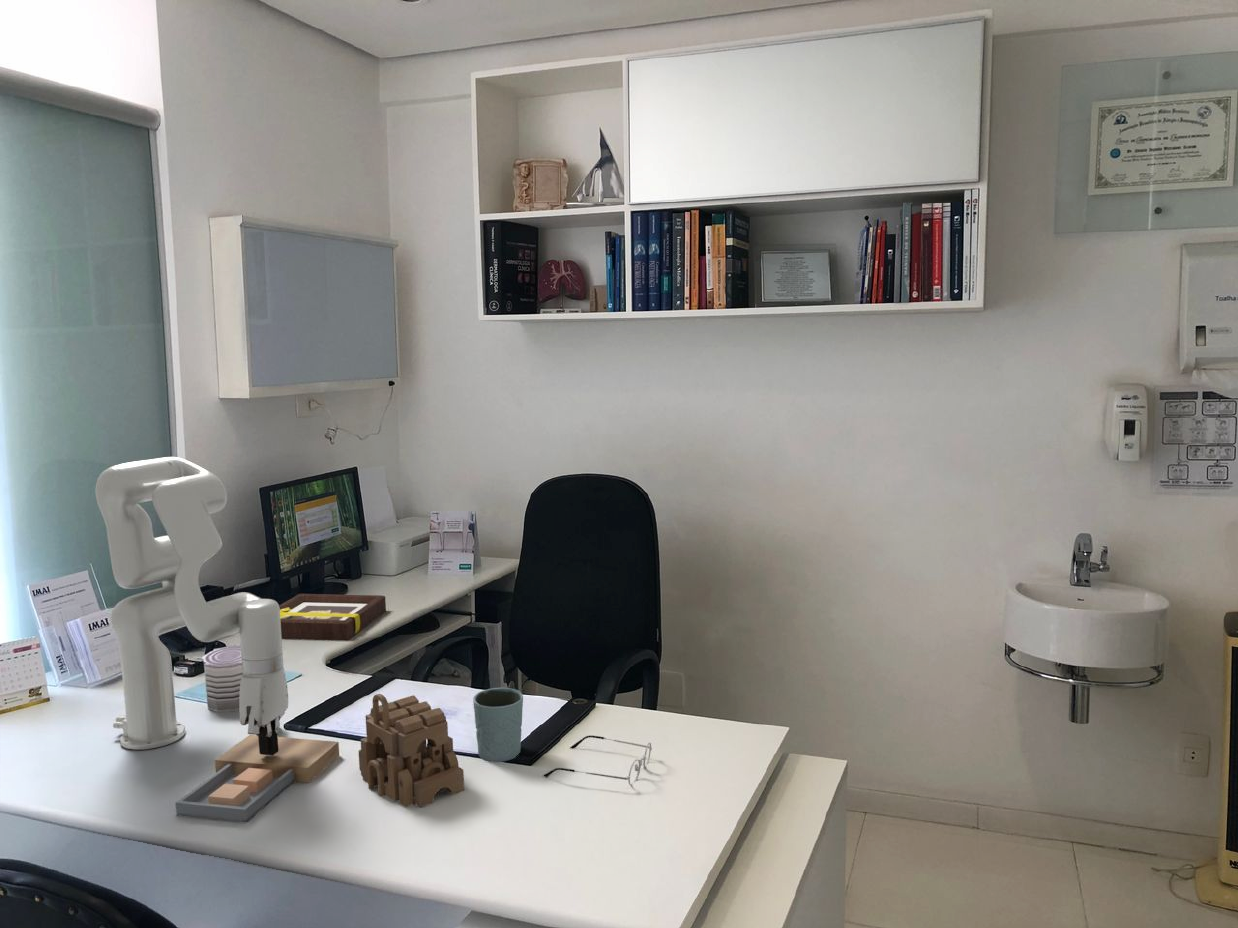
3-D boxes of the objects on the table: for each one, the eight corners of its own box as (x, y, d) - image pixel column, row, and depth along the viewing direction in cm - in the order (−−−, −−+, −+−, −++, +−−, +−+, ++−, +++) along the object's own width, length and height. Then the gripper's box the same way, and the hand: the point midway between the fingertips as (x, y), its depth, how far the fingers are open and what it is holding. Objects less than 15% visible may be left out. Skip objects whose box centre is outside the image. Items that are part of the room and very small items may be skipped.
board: (215, 774, 192) (214, 759, 192) (251, 748, 204) (250, 734, 203) (308, 782, 188) (307, 767, 187) (339, 755, 199) (338, 741, 199)
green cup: (498, 738, 206) (496, 683, 205) (535, 749, 200) (533, 693, 199) (464, 756, 198) (462, 699, 196) (502, 768, 192) (499, 710, 191)
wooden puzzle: (473, 787, 185) (469, 692, 182) (405, 814, 175) (400, 714, 173) (412, 751, 201) (407, 664, 198) (346, 774, 191) (341, 683, 189)
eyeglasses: (632, 795, 181) (631, 769, 180) (540, 781, 188) (539, 756, 187) (658, 759, 196) (658, 735, 195) (572, 747, 202) (571, 724, 202)
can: (267, 694, 233) (264, 646, 232) (241, 713, 222) (237, 662, 221) (224, 692, 235) (220, 644, 234) (195, 710, 224) (191, 660, 223)
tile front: (224, 783, 182) (225, 794, 182) (208, 796, 177) (209, 807, 178) (248, 785, 181) (249, 796, 181) (232, 798, 176) (233, 809, 177)
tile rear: (233, 790, 184) (232, 779, 184) (249, 778, 189) (248, 767, 189) (257, 792, 183) (256, 781, 183) (272, 780, 188) (271, 769, 187)
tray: (176, 815, 176) (175, 802, 176) (229, 775, 191) (228, 763, 191) (246, 822, 173) (245, 809, 173) (294, 781, 188) (293, 769, 188)
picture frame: (348, 618, 272) (247, 616, 276) (350, 641, 273) (249, 639, 277) (386, 591, 299) (294, 590, 304) (387, 612, 300) (295, 610, 304)
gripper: (268, 649, 198) (274, 735, 200) (221, 675, 183) (228, 768, 186) (301, 652, 196) (306, 739, 199) (257, 678, 182) (263, 771, 184)
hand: (269, 752), depth 192 cm, fingers closed
